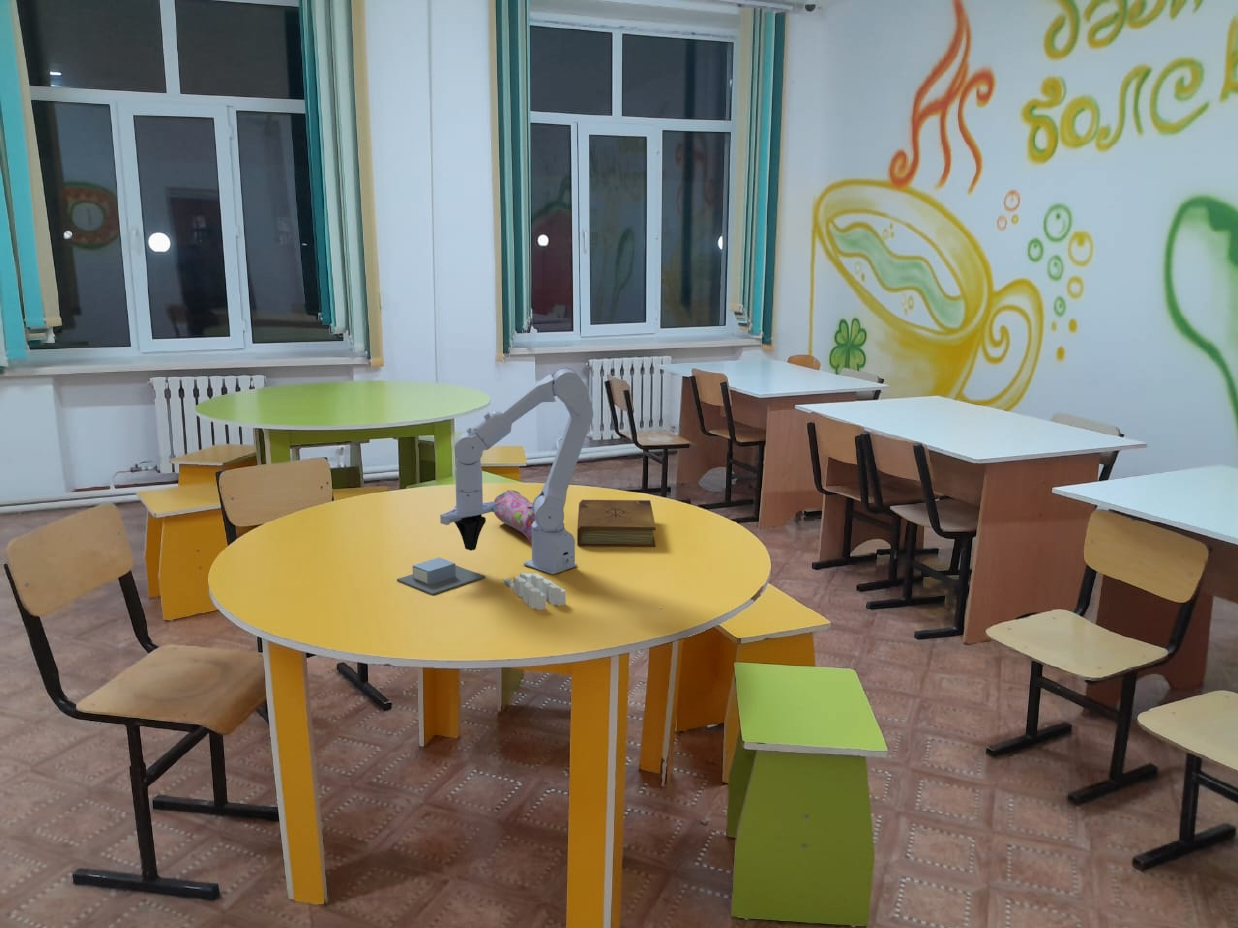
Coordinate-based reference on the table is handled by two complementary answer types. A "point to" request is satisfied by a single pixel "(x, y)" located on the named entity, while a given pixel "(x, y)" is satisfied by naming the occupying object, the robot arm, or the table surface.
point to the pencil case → (515, 512)
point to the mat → (461, 579)
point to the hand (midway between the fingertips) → (470, 549)
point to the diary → (615, 523)
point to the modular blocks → (537, 590)
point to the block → (434, 571)
